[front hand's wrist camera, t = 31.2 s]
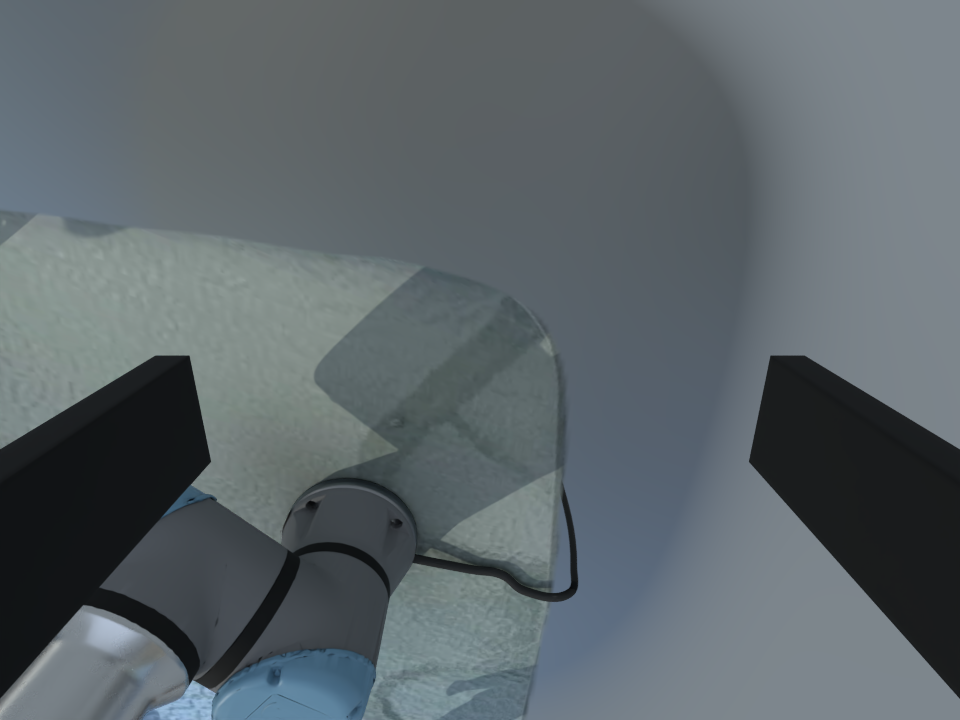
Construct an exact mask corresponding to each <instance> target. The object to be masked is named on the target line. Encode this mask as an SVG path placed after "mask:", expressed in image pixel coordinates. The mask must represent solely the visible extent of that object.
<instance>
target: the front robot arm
mask: <svg viewBox="0 0 960 720" xmlns="http://www.w3.org/2000/svg"><path fill="white" fill-rule="evenodd" d="M210 462H211V459H210V454H209V449H208V444H207V440H206V435H205V430H204V425H203V420H202V415H201V410H200V405H199V400H198V395H197V390H196V386H195V381H194V376H193V371H192V366H191V361H190V356H154V357H152V358H151V359H149V360H147V361H146V362H144V363H143V364H141V365H139V366H138V367H136V368H134V369H133V370H131V371H129V372H128V373H126V374H124V375H123V376H121V377H119V378H118V379H116V380H114V381H113V382H111V383H109V384H108V385H106V386H104V387H103V388H101V389H99V390H98V391H96V392H95V393H93V394H91V395H90V396H88V397H86V398H85V399H83V400H81V401H80V402H78V403H76V404H75V405H73V406H71V407H70V408H68V409H66V410H65V411H63V412H61V413H60V414H58V415H56V416H55V417H53V418H51V419H50V420H48V421H47V422H45V423H43V424H42V425H40V426H38V427H37V428H35V429H33V430H32V431H30V432H28V433H27V434H25V435H23V436H22V437H20V438H18V439H17V440H15V441H13V442H12V443H10V444H8V445H7V446H5V447H3V448H2V449H0V720H142V719H143V717H144V716H145V714H146V713H147V712H149V711H151V710H153V709H156V708H159V707H161V706H164V705H166V704H169V703H172V702H174V701H176V700H178V699H179V698H181V697H182V695H183V694H184V693H185V691H186V690H187V688H188V686H189V685H190V683H191V681H192V680H194V681H196V682H198V683H199V684H201V685H203V686H205V687H206V688H208V689H209V690H211V691H213V692H215V693H216V694H215V697H214V699H213V701H212V703H213V704H212V714H211V717H212V720H361V719H362V717H363V715H364V712H365V709H366V705H367V702H368V699H369V695H370V692H371V689H372V687H373V685H374V682H375V678H376V665H377V660H378V655H379V649H380V644H381V639H382V634H383V629H384V624H385V619H386V614H387V608H388V603H389V598H390V596H391V595H392V593H393V592H394V590H395V589H396V588H397V586H398V585H399V583H400V582H401V580H402V579H403V577H404V576H405V574H406V573H407V571H408V570H409V568H410V567H411V564H412V563H417V564H422V565H427V566H432V567H437V568H443V569H448V570H453V571H458V572H464V573H470V574H476V575H486V576H494V577H497V578H500V579H502V580H504V581H505V582H507V583H508V584H509V585H510V586H511V587H512V588H513V589H514V590H515V591H517V592H518V593H520V594H523V595H525V596H528V597H531V598H535V599H538V600H542V601H549V602H559V601H564V600H567V599H569V598H570V597H572V596H573V595H574V594H575V593H576V591H577V589H578V571H577V548H576V538H575V531H574V525H573V520H572V515H571V511H570V507H569V503H568V499H567V496H566V492H565V489H564V485H562V493H561V500H562V504H563V508H564V513H565V517H566V523H567V528H568V535H569V544H570V574H571V585H570V587H569V589H567V590H566V591H563V592H560V593H546V592H541V591H537V590H534V589H531V588H528V587H525V586H523V585H521V584H519V583H518V582H517V581H516V580H515V579H514V578H513V577H512V576H511V575H510V574H508V573H507V572H505V571H503V570H500V569H497V568H492V567H481V566H474V565H468V564H463V563H457V562H452V561H447V560H442V559H437V558H431V557H426V556H421V555H416V554H415V550H416V544H417V529H416V524H415V521H414V518H413V516H412V514H411V512H410V511H409V509H408V508H407V506H406V505H405V504H404V503H403V502H402V501H401V500H400V499H399V498H398V497H397V496H396V495H395V494H393V493H392V492H390V491H389V490H387V489H386V488H384V487H382V486H380V485H377V484H375V483H372V482H369V481H365V480H359V479H350V478H343V479H334V480H329V481H325V482H322V483H320V484H317V485H315V486H313V487H312V488H310V489H308V490H307V491H306V492H304V493H303V494H302V495H301V496H300V497H299V498H298V499H297V500H296V502H295V503H294V505H293V506H292V508H291V510H290V512H289V511H288V513H289V514H287V516H286V519H285V521H284V524H283V526H282V528H283V530H282V529H281V531H282V545H281V544H279V543H278V542H276V541H275V540H273V539H272V538H270V537H269V536H267V535H266V534H264V533H263V532H261V531H260V530H258V529H257V528H255V527H254V526H252V525H251V524H249V523H248V522H246V521H245V520H243V519H242V518H240V517H239V516H237V515H236V514H234V513H233V512H231V511H230V510H228V509H227V508H225V507H224V506H222V505H221V504H219V503H218V502H216V501H217V499H216V497H214V496H213V495H209V494H205V493H203V492H201V491H200V490H198V489H196V488H195V487H193V486H191V484H192V483H193V481H194V480H195V479H196V478H197V477H198V476H199V475H200V474H201V472H202V471H203V470H204V469H205V468H206V467H207V466H208V465H209V463H210ZM749 462H750V463H751V465H752V466H753V467H754V468H755V469H756V470H757V471H758V472H759V474H760V475H761V476H762V477H763V478H764V479H765V480H766V481H767V483H768V484H769V485H770V486H771V487H772V488H773V489H774V490H775V492H776V493H777V494H778V495H779V496H780V497H781V498H782V499H783V501H784V502H785V503H786V504H787V505H788V506H789V507H790V508H791V510H792V511H793V512H794V513H795V514H796V515H797V516H798V517H799V518H800V520H801V521H802V522H803V523H804V524H805V525H806V526H807V527H808V529H809V530H810V531H811V532H812V533H813V534H814V535H815V536H816V538H817V539H818V540H819V541H820V542H821V543H822V544H823V545H824V547H825V548H826V549H827V550H828V551H829V552H830V553H831V554H832V556H833V557H834V558H835V559H836V560H837V561H838V562H839V563H840V565H841V566H842V567H843V568H844V569H845V570H846V571H847V572H848V574H849V575H850V576H851V577H852V578H853V579H854V580H855V581H856V583H857V584H858V585H859V586H860V587H861V588H862V589H863V590H864V592H865V593H866V594H867V595H868V596H869V597H870V598H871V599H872V601H873V602H874V603H875V604H876V605H877V606H878V607H879V608H880V610H881V611H882V612H883V613H884V614H885V615H886V616H887V617H888V619H889V620H890V621H891V622H892V623H893V624H894V625H895V626H896V627H897V629H898V630H899V631H900V632H901V633H902V634H903V635H904V636H905V638H906V639H907V640H908V641H909V642H910V643H911V644H912V645H913V647H914V648H915V649H916V650H917V651H918V652H919V653H920V654H921V656H922V657H923V658H924V659H925V660H926V661H927V662H928V663H929V665H930V666H931V667H932V668H933V669H934V670H935V671H936V672H937V674H938V675H939V676H940V677H941V678H942V679H943V680H944V681H945V682H946V684H947V685H948V686H949V687H950V688H951V689H952V690H953V691H954V693H955V694H956V695H957V696H958V697H959V698H960V449H958V448H956V447H955V446H953V445H952V444H950V443H948V442H947V441H945V440H943V439H942V438H940V437H938V436H937V435H935V434H933V433H932V432H930V431H928V430H927V429H925V428H923V427H922V426H920V425H918V424H917V423H915V422H913V421H912V420H910V419H909V418H907V417H905V416H904V415H902V414H900V413H899V412H897V411H895V410H894V409H892V408H890V407H889V406H887V405H885V404H884V403H882V402H880V401H879V400H877V399H875V398H874V397H872V396H870V395H869V394H867V393H865V392H864V391H862V390H861V389H859V388H857V387H856V386H854V385H852V384H851V383H849V382H847V381H846V380H844V379H842V378H841V377H839V376H837V375H836V374H834V373H832V372H831V371H829V370H827V369H826V368H824V367H822V366H821V365H819V364H817V363H816V362H814V361H812V360H811V359H809V358H808V357H806V356H770V361H769V366H768V371H767V376H766V381H765V386H764V390H763V395H762V400H761V405H760V410H759V415H758V420H757V425H756V430H755V435H754V440H753V445H752V449H751V454H750V459H749ZM280 533H281V532H280Z"/></svg>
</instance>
